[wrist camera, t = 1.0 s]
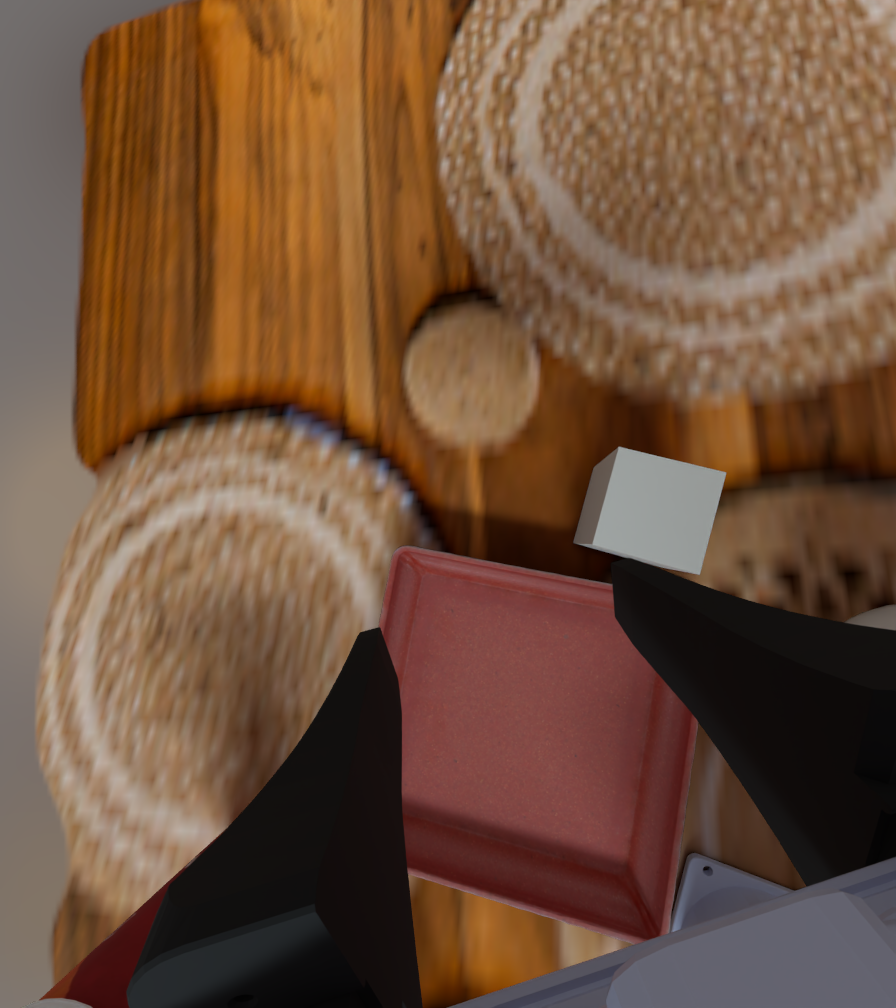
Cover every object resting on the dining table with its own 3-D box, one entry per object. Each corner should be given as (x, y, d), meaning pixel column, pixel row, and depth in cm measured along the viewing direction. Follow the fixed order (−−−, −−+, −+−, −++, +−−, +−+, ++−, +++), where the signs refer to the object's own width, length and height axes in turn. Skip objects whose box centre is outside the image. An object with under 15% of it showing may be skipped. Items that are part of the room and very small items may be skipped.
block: (675, 487, 25) (726, 472, 19) (654, 566, 25) (699, 574, 19) (593, 467, 26) (618, 446, 20) (572, 543, 26) (592, 544, 20)
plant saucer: (691, 595, 25) (718, 603, 22) (646, 902, 24) (668, 959, 21) (406, 541, 28) (393, 542, 25) (356, 814, 27) (335, 853, 24)
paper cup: (211, 789, 28) (-78, 1035, 14) (318, 787, 27) (119, 1051, 13) (216, 914, 27) (-85, 1304, 13) (326, 918, 26) (124, 1343, 12)
